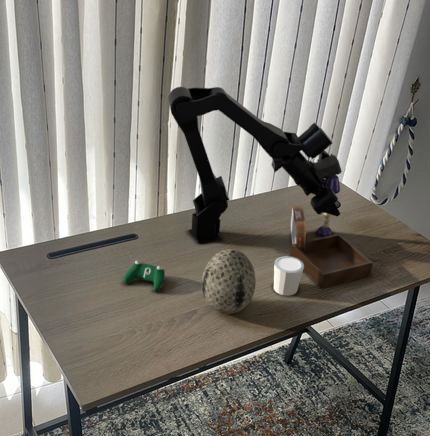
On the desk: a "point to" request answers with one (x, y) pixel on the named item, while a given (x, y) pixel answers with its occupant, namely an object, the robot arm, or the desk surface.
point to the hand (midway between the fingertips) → (334, 207)
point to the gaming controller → (145, 274)
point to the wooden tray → (332, 260)
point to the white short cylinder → (287, 275)
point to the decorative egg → (228, 281)
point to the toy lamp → (324, 229)
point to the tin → (298, 227)
